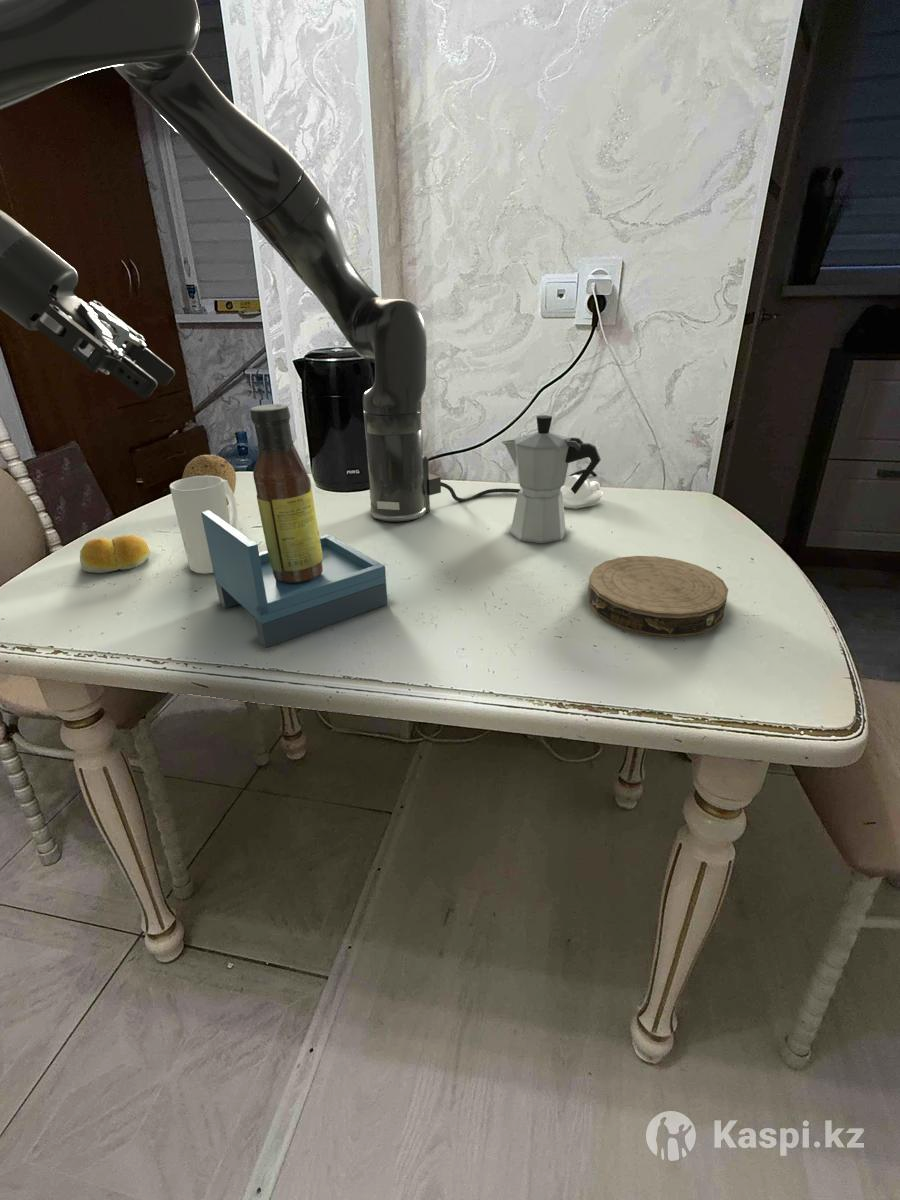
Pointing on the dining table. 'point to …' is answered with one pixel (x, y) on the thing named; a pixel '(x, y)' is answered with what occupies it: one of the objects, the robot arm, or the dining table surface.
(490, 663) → the dining table surface
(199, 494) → the mug
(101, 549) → the bread roll
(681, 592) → the wood log slice
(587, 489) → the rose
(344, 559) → the shelf
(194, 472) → the natural sponge
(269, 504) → the sauce bottle
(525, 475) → the coffee maker
